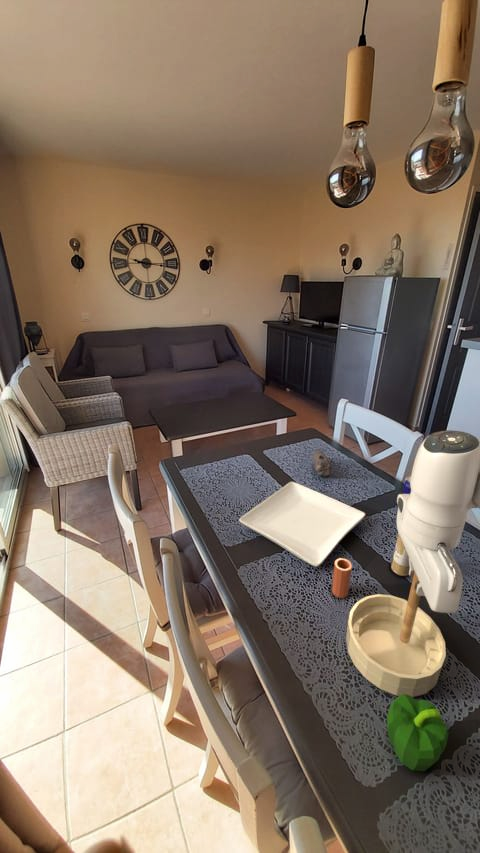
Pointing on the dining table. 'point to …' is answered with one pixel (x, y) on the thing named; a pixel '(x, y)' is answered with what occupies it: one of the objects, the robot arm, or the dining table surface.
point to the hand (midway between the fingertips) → (417, 585)
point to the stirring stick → (410, 612)
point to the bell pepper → (416, 732)
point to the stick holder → (341, 577)
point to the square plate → (303, 521)
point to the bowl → (394, 646)
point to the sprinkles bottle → (400, 559)
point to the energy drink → (407, 485)
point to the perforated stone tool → (321, 464)
